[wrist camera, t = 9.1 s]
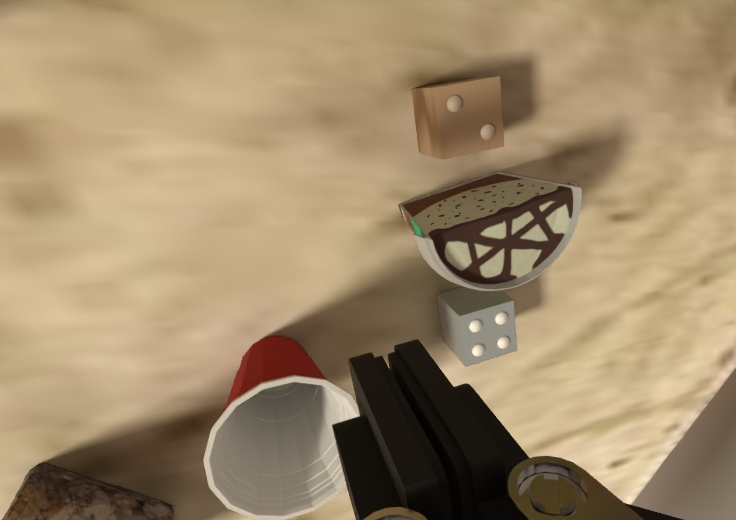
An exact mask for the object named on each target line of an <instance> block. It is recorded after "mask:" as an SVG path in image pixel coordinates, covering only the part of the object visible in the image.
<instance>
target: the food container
mask: <svg viewBox="0 0 736 520" xmlns="http://www.w3.org/2000/svg"><path fill="white" fill-rule="evenodd" d="M581 201H582V188H581V187H579V185H578V184H576V183H574V182H572V181H568V184H563V183H557V182H552V181H547V180H541V179H536V178H531V177H525V176H520V175H514V174H509V173H504V172H498V171H496V172H493V173H490V174H487V175H484V176H481V177H478V178H475V179H472V180H469V181H466V182H463V183H460V184H457V185H454V186H451V187H448V188H445V189H442V190H439V191H436V192H433V193H430V194H427V195H424V196H421V197H419V198H416V199H413V200H410V201H407V202H404V203H401V204H398V206H399V208H400V211H401V214H402V217H403V218H404V220H405V221H406V222H407V224H408V225H409V227H410V228H411V229H412V231H413V232H414V233H415V234H413V235H414V238H415V241H416V244H417V247H418V249H419V251H420V252H421V254H422V256H423V258H424V259H425V260H426V262H427V263H428V264H429V266H430V267H431V268H432V269H433V270H435V271H436V272H437V273H438V274H439V275H440V276H442V277H444V278H445V279H447V280H449V281H451V282H453V283H456V284H458V285H461V286H464V287H467V288H470V289H475V290H480V291H498V290H505V289H511V288H514V287H517V286H520V285H523V284H525V283H527V282H529V281H531V280H533V279H534V278H536V277H537V276H539V275H541V274H542V273H543V272H544V271H545V270H547V269H548V268H549V267H550V266H551V265H552V264H553V263H554V262H555V261H556V260H557V259H558V258H559V256H560V255H561V254H562V252H563V251H564V250H565V248H566V247H567V245H568V243H569V241H570V239H571V238H572V236H573V233H574V231H575V228H576V226H577V223H578V219H579V215H580V210H581Z"/></svg>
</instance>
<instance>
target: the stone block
mask: <svg viewBox="0 0 736 520" xmlns="http://www.w3.org/2000/svg"><path fill="white" fill-rule="evenodd" d="M174 506H175V505H174ZM2 520H174V511H173V508H172V505H169V504H167V503H164V502H162V501H160V500H157V499H153V498H150V497H147V496H144V495H142V494H139V493H136V492H133V491H130V490H127V489H124V488H121V487H118V486H114V485H110V484H107V483H104V482H100V481H97V480H94V479H91V478H87V477H84V476H81V475H78V474H75V473H72V472H69V471H66V470H62V469H58V468H56V467H53V466H51V465H48V464H46V463H43V464H39V465H37V466H35V467H34V468H32V469H31V470H30V471H29V473H28V474H27V475H26V476H25V479H24V481H23V483H22V485H21V487H20V489H19V491H18V492H17V494H16V496H15V499H14V500H13V502H12V504H11V506H10V507H9V509H8V511H7V512H6V514H5V516H4V517H3V519H2Z"/></svg>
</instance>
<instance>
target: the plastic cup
mask: <svg viewBox="0 0 736 520" xmlns="http://www.w3.org/2000/svg"><path fill="white" fill-rule="evenodd" d="M358 416H360V414H359V409H358V406H357V404H356V402H355V401H354V399H353V398H352V396H351V395H350V394H348V393H347V392H345V391H343V390H342V389H340V388H338V387H337V386H335V385H333V384H332V383H330V382H328V381H327V380H326V378H325V377H324V376H323V374H322V373H321V371H320V370H319V369H318V367H317V366H316V364H315V363H314V362H313V360H312V359H311V358H310V357H309V356H308V354H307V353H306V351H305V350H304V348H303V347H302V346H301V345H300V344H298V343H297V342H295V341H294V340H292V339H290V338H287V337H281V336H273V337H268V338H263V339H262V340H260V341H258V342H257V343H255V344H253V345H252V346H251V347H250V349H249V350H248V351H247V352H246V354H245V355H244V356H243V358H242V362H241V365H240V368H239V370H238V371H237V374H236V377H235V380H234V384H233V387H232V390H231V393H230V396H229V400H228V403H227V405H226V407H225V409H224V412H223V414H222V415H221V417H220V418H219V419H218V420H217V422H216V423H215V424H214V426H213V427H212V429H211V432H210V436H209V439H208V443H207V447H206V451H205V455H204V458H203V462H204V467H205V471H206V476H207V480H208V485H209V488H210V489H211V490H212V491H213V493H214V494H215V495H216V496H217V497H218V498H219V499H220V501H221V502H222V503H223V504H224V505H225V506H226V507H227V508H228V509H230V510H233V511H235V512H237V513H240V514H242V515H245V516H247V517H249V518H252V519H263V520H286V519H289V518H292V517H295V516H298V515H302V514H305V513H308V512H311V511H314V510H316V509H317V508H319V507H320V506H322V505H323V504H325V503H326V502H328V501H329V500H331V499H332V498H333V497H335V496H336V495H338V494H339V493H341V491H342V490H343V489H344V487H345V486H346V481H345V477H344V474H343V470H342V466H341V462H340V458H339V454H338V450H337V445H336V441H335V437H334V433H333V428H332V424H336V423H339V422H342V421H345V420H349V419H352V418H355V417H358Z"/></svg>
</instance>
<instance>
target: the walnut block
mask: <svg viewBox="0 0 736 520" xmlns="http://www.w3.org/2000/svg"><path fill="white" fill-rule="evenodd" d="M412 97H413V105H414V114H415V122H416V130H417V139H418V147H419V152H420V153H423V154H426V155H430V156H433V157H436V158H440V159H446V158H451V157H456V156H460V155H465V154H470V153H475V152H480V151H484V150H489V149H494V148H499V147H503V146H504V134H503V117H502V99H501V82H500V76H494V77H482V78H470V79H464V80H459V81H453V82H448V83H442V84H436V85H431V86H425V87H420V88H414V89H412Z"/></svg>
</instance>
